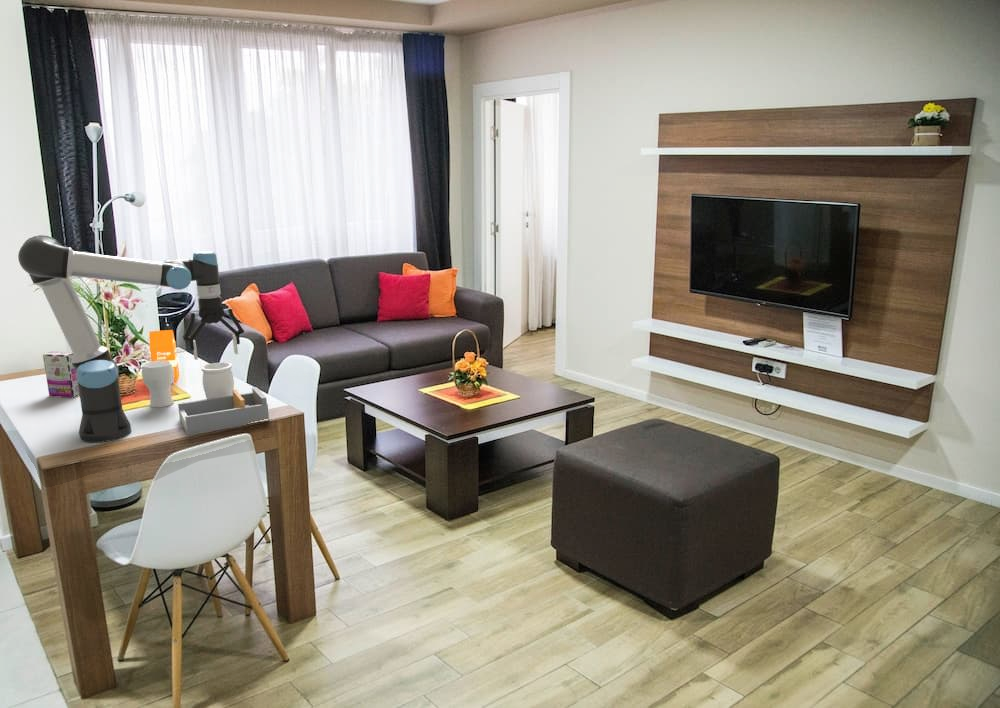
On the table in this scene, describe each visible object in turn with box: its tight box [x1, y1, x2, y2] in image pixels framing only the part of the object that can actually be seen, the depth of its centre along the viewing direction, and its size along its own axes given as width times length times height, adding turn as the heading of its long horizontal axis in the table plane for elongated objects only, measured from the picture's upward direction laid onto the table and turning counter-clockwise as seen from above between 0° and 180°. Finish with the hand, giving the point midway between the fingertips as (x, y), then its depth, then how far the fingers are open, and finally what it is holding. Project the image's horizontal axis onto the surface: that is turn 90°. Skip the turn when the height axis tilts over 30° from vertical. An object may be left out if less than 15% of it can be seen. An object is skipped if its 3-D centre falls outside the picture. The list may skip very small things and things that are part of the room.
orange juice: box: [148, 329, 180, 382], centre depth 323 cm, size 8×9×20 cm
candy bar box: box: [42, 351, 80, 398], centre depth 304 cm, size 11×5×16 cm, turn 76°
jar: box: [200, 362, 235, 399], centre depth 288 cm, size 11×10×15 cm
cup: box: [141, 361, 174, 408], centre depth 292 cm, size 11×11×15 cm
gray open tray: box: [177, 386, 270, 436], centre depth 274 cm, size 26×17×8 cm, turn 119°
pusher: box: [232, 389, 249, 408], centre depth 277 cm, size 4×14×7 cm, turn 29°
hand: (216, 356), depth 285 cm, fingers open, 13 cm apart
